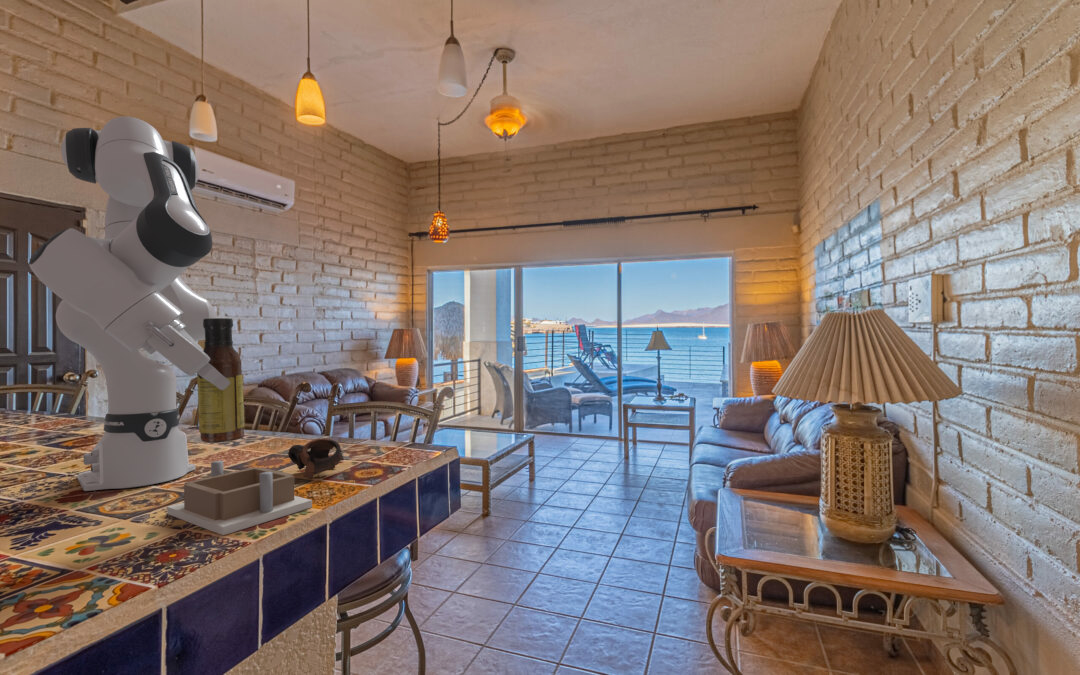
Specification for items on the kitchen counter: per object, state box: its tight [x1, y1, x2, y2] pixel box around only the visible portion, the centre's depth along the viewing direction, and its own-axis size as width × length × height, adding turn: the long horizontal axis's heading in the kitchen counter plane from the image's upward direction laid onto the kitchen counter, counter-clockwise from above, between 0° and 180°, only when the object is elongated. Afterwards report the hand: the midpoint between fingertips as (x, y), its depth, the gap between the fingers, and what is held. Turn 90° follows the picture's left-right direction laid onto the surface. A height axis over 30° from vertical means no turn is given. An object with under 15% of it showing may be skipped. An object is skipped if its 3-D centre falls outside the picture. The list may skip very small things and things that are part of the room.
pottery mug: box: [287, 437, 345, 480], centre depth 106 cm, size 12×10×8 cm
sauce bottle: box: [196, 317, 245, 444], centre depth 80 cm, size 6×6×20 cm
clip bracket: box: [166, 460, 313, 536], centre depth 82 cm, size 18×14×7 cm
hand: (225, 385), depth 81 cm, fingers closed on sauce bottle, 6 cm apart
